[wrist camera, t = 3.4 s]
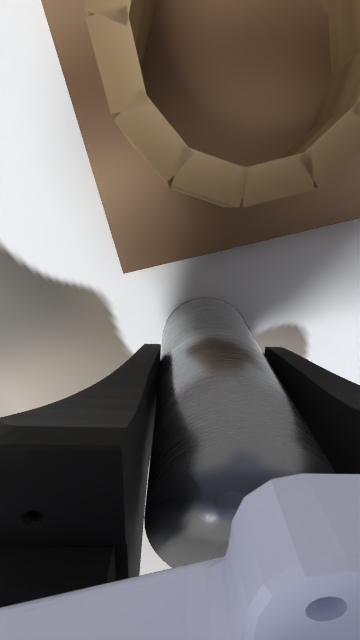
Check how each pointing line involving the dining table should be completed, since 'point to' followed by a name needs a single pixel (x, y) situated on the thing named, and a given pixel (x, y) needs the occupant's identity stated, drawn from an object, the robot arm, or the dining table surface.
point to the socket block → (214, 118)
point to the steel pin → (216, 432)
